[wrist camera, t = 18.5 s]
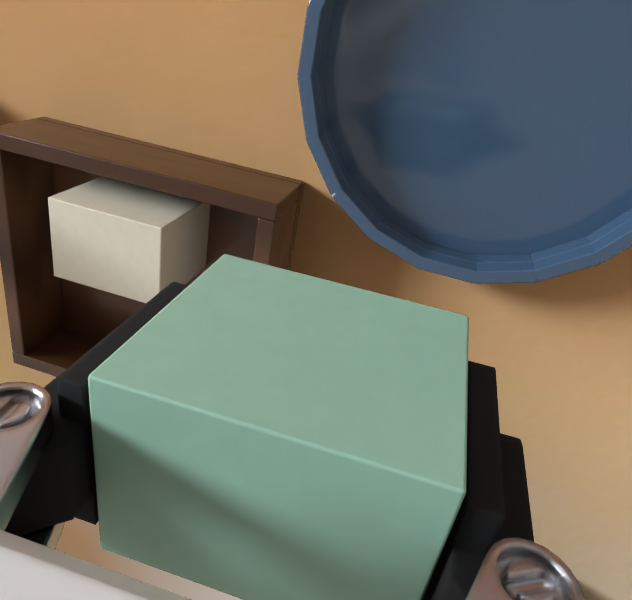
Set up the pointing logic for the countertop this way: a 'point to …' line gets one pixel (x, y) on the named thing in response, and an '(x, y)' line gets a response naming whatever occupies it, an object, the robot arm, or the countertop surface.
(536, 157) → the blue round tray
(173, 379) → the green block
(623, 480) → the countertop surface
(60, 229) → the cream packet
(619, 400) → the countertop surface
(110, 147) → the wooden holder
